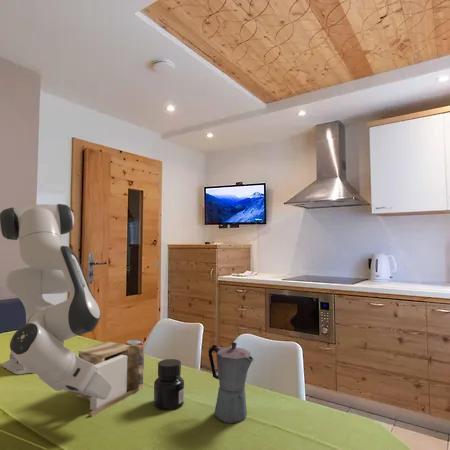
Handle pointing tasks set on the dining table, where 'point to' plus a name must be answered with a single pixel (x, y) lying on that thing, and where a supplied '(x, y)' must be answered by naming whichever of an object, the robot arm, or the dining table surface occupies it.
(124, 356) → the door
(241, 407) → the moka pot
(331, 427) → the dining table surface
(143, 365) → the soda can
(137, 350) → the cabinet
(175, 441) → the dining table surface
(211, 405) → the dining table surface
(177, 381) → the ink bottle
